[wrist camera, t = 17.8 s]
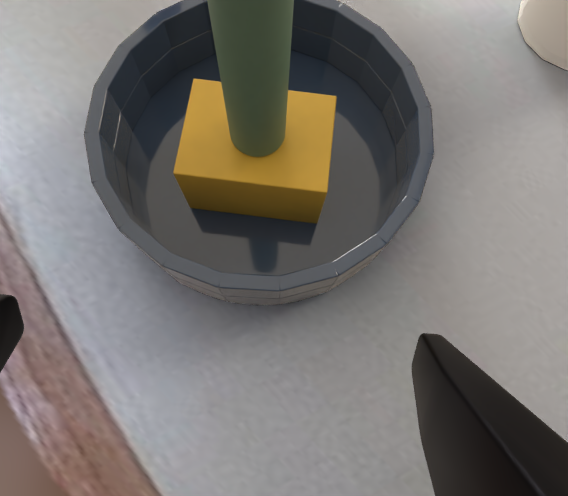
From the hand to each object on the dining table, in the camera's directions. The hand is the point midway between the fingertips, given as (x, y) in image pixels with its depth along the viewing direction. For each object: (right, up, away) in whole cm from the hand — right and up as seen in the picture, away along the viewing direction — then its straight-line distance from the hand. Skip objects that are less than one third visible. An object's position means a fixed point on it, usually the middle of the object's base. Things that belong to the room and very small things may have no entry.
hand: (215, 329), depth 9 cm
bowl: (0, +6, +12) cm, 13 cm away
